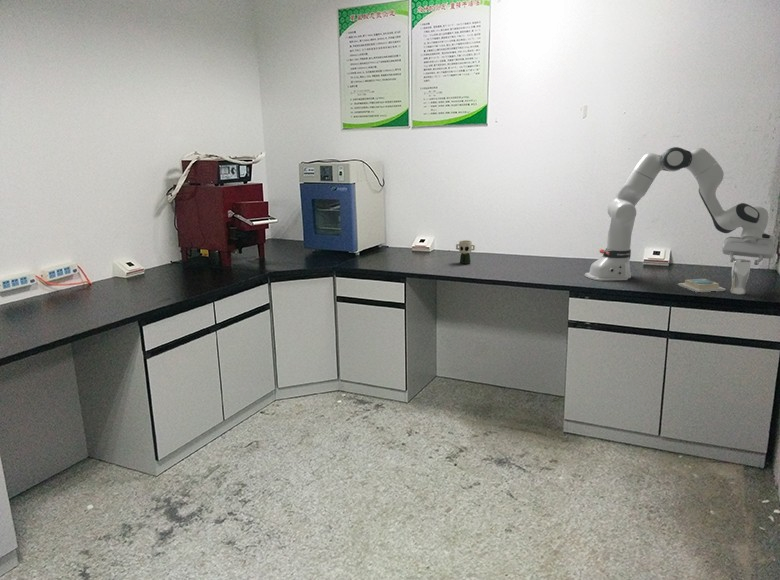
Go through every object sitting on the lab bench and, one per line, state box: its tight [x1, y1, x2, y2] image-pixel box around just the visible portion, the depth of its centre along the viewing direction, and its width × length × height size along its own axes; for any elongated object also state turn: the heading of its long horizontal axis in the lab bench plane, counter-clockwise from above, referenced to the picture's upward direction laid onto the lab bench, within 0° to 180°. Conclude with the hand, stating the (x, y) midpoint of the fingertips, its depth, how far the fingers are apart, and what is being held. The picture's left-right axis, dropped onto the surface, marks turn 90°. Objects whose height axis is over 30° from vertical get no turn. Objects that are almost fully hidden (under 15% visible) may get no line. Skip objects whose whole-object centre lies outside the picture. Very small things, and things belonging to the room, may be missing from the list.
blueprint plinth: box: [677, 278, 726, 293], centre depth 267 cm, size 14×14×3 cm
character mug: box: [455, 239, 476, 265], centre depth 329 cm, size 11×7×13 cm, turn 69°
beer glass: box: [729, 258, 751, 296], centre depth 256 cm, size 7×7×15 cm
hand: (744, 263), depth 258 cm, fingers open, 8 cm apart
